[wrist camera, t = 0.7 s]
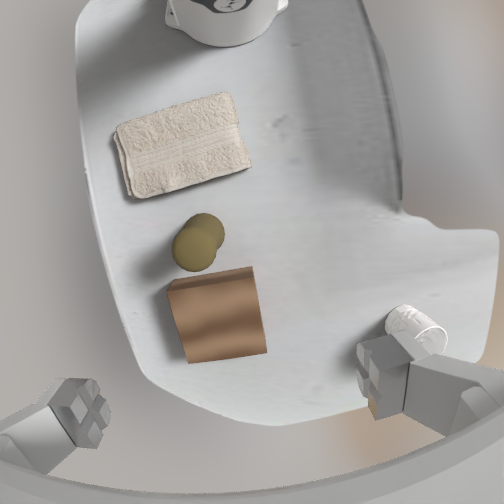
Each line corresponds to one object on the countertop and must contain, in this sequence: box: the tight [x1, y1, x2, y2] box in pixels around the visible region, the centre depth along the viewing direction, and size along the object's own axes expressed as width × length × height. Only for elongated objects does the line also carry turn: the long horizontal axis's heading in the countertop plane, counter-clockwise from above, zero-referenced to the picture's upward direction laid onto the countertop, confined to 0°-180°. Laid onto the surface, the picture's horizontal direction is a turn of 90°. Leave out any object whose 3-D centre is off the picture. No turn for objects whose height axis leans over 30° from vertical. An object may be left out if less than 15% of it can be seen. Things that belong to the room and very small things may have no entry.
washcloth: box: [113, 92, 252, 199], centre depth 40 cm, size 12×18×3 cm, turn 105°
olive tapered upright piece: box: [172, 213, 225, 272], centre depth 39 cm, size 6×6×11 cm
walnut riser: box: [167, 266, 267, 364], centre depth 45 cm, size 12×12×5 cm
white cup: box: [385, 305, 447, 355], centre depth 44 cm, size 8×8×10 cm
